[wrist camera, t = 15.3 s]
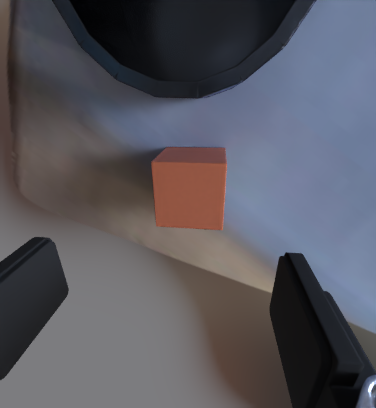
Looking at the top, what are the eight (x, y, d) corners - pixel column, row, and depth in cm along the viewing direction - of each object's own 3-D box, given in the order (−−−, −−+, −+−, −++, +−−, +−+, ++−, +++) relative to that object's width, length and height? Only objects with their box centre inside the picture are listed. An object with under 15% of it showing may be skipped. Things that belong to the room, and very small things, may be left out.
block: (166, 146, 20) (150, 161, 15) (225, 147, 19) (226, 163, 15) (169, 199, 22) (156, 226, 17) (221, 202, 21) (222, 230, 17)
